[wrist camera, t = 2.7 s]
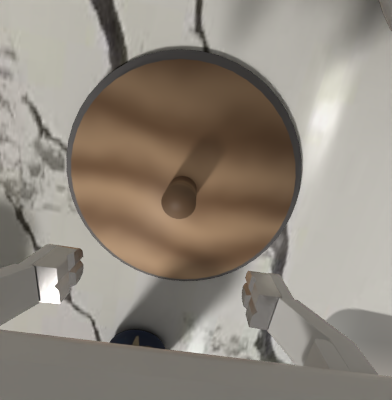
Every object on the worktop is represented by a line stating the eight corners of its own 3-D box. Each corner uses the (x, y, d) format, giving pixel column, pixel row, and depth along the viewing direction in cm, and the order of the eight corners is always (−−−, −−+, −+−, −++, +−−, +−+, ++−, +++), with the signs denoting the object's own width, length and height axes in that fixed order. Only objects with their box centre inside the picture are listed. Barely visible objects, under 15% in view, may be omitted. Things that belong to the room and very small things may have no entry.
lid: (67, 41, 18) (18, 9, 13) (325, 83, 19) (368, 67, 14) (81, 262, 26) (54, 292, 22) (261, 285, 27) (274, 319, 22)
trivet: (58, 29, 18) (55, 27, 18) (336, 75, 19) (339, 73, 19) (76, 265, 27) (74, 267, 27) (265, 289, 28) (266, 292, 28)
